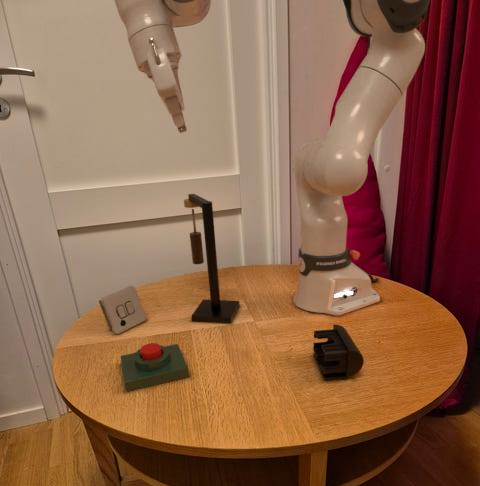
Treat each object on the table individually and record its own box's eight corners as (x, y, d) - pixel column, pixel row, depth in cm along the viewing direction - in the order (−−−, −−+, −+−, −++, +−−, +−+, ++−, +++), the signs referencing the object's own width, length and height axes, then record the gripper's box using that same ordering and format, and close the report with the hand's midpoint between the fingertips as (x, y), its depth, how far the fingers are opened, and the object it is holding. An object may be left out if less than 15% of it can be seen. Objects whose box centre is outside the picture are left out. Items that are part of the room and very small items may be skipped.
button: (160, 348, 83) (159, 341, 82) (163, 358, 80) (162, 350, 79) (140, 352, 82) (139, 345, 81) (142, 363, 79) (141, 355, 78)
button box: (178, 352, 88) (176, 336, 86) (188, 377, 80) (186, 360, 78) (122, 364, 85) (118, 348, 83) (126, 391, 77) (122, 374, 75)
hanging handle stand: (245, 295, 114) (239, 191, 101) (230, 323, 99) (222, 206, 86) (197, 293, 117) (186, 192, 104) (176, 320, 102) (160, 207, 89)
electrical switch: (116, 336, 96) (106, 299, 93) (104, 332, 99) (93, 296, 96) (147, 320, 103) (139, 286, 99) (134, 317, 106) (126, 283, 102)
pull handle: (205, 260, 111) (200, 207, 104) (202, 264, 108) (196, 210, 102) (194, 260, 111) (189, 207, 105) (191, 264, 109) (185, 210, 102)
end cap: (362, 379, 76) (365, 348, 73) (324, 382, 76) (326, 351, 73) (346, 351, 85) (348, 322, 82) (312, 354, 85) (313, 325, 82)
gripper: (166, 27, 68) (194, 115, 72) (176, 63, 87) (198, 130, 92) (131, 40, 68) (161, 126, 73) (149, 72, 88) (171, 139, 92)
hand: (181, 129), depth 82 cm, fingers open, 8 cm apart
